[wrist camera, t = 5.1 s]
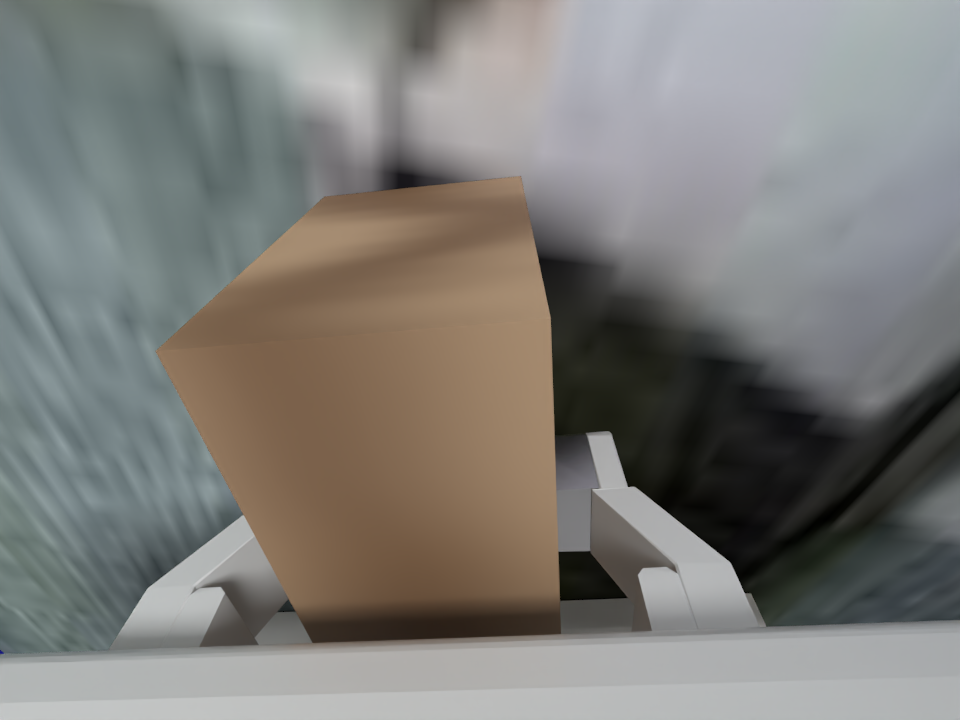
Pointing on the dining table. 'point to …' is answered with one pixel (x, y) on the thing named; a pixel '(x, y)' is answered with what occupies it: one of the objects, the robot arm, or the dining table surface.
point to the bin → (573, 616)
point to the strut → (390, 413)
